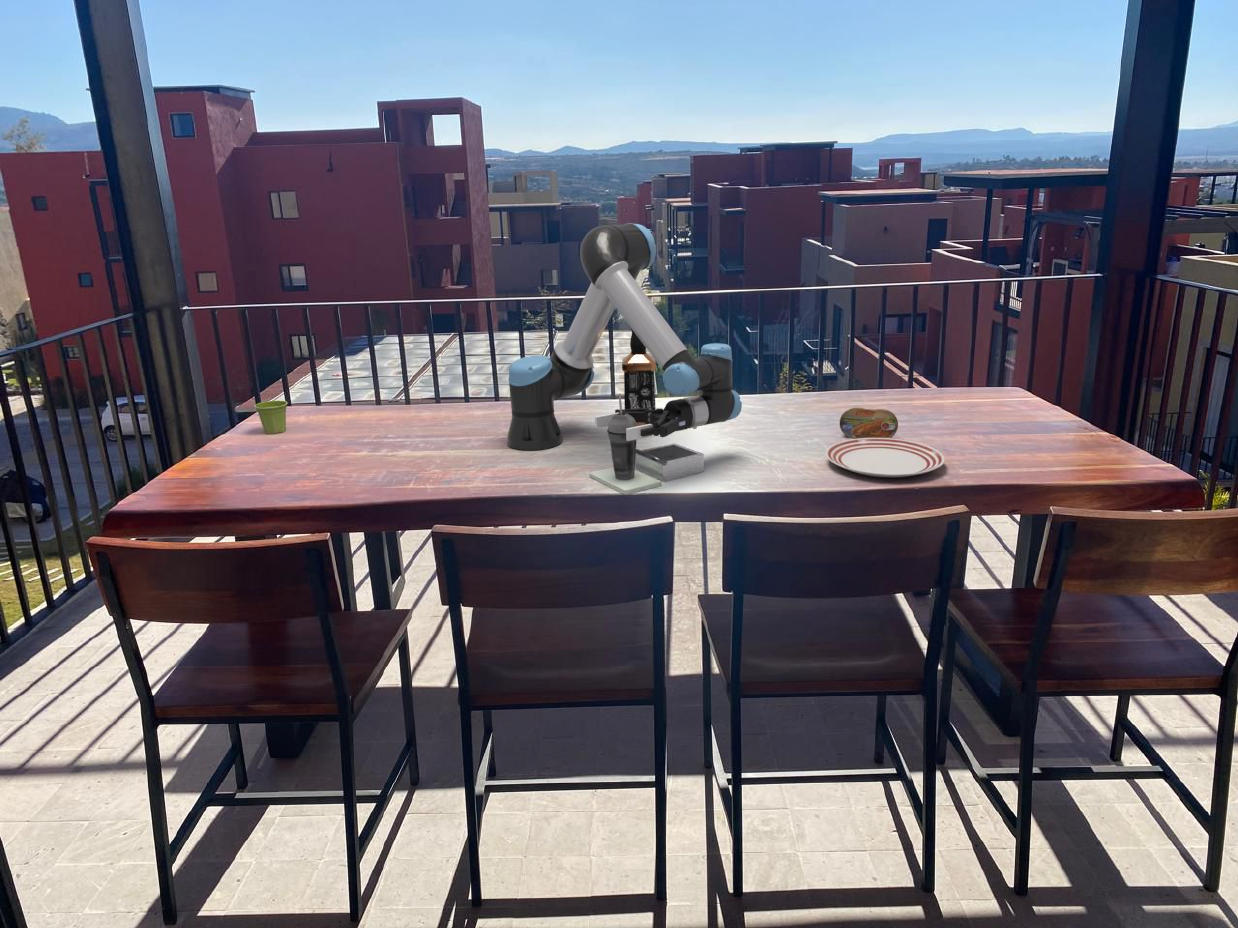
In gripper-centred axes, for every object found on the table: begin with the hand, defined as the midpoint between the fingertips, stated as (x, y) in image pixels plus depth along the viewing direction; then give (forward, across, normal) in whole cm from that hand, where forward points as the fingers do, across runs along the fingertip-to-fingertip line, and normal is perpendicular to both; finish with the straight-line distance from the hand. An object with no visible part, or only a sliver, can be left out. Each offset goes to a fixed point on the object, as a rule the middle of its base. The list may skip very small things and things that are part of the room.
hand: (610, 428), depth 188 cm
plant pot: (+56, +105, -14) cm, 120 cm away
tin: (-74, -11, -14) cm, 76 cm away
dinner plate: (-59, -29, -14) cm, 67 cm away
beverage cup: (-3, 0, -13) cm, 13 cm away
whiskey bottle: (-33, +38, -14) cm, 52 cm away
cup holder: (-16, 0, -14) cm, 21 cm away
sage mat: (-3, 0, -14) cm, 14 cm away
